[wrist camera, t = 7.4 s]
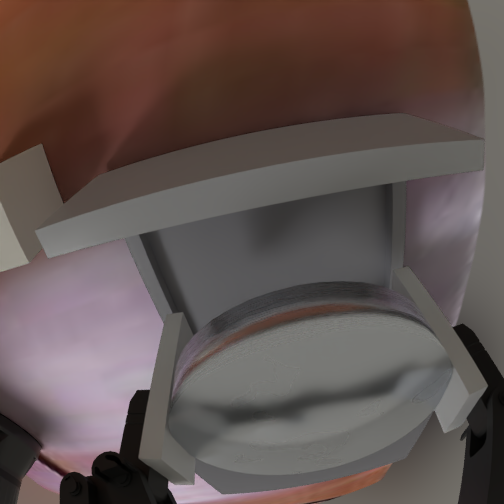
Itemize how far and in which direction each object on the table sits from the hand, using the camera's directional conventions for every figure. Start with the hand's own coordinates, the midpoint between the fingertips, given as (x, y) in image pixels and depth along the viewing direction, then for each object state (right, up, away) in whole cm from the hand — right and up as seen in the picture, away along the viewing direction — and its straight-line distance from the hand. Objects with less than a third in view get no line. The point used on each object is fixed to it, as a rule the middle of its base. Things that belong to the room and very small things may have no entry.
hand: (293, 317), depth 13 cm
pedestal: (-16, +6, +2) cm, 17 cm away
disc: (0, -2, -3) cm, 4 cm away
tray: (0, +3, +5) cm, 6 cm away
